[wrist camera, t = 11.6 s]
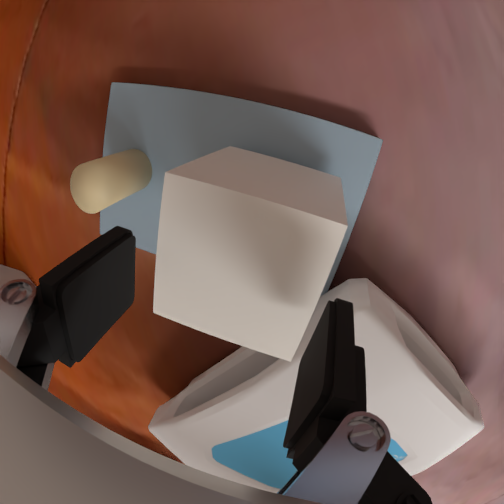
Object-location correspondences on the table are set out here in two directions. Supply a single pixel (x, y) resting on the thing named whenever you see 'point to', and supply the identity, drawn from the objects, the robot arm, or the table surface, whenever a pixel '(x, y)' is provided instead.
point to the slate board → (206, 152)
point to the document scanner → (282, 390)
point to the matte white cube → (247, 247)
